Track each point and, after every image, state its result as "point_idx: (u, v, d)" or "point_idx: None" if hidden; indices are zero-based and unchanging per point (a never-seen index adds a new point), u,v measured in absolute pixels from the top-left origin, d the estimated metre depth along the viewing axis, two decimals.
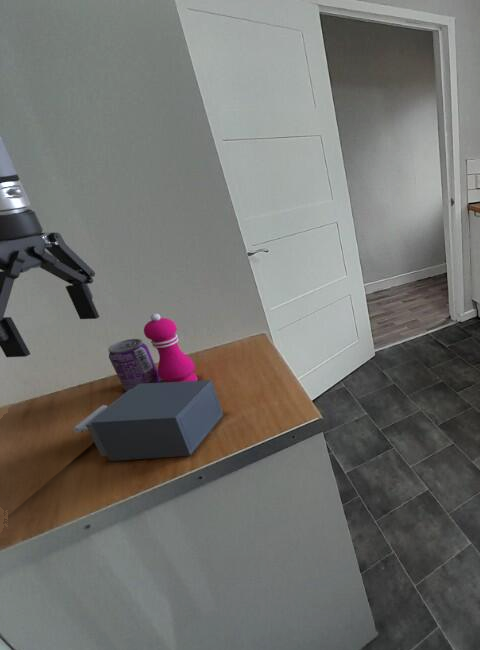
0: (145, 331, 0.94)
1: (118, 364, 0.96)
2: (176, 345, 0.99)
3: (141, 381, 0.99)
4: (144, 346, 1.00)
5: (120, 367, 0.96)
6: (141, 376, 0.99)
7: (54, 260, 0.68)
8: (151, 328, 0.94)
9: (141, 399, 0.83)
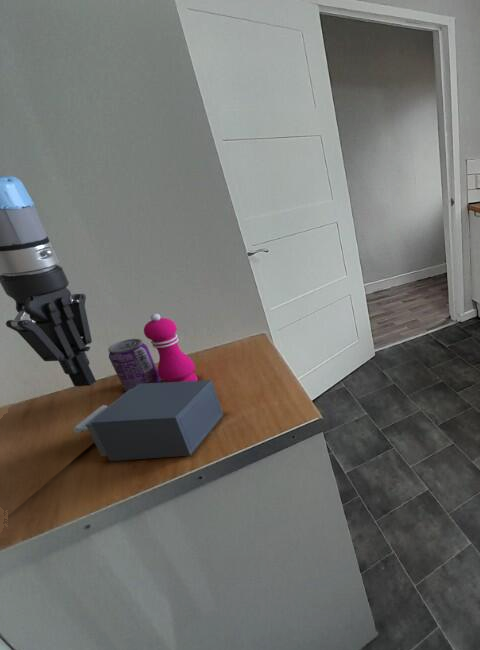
0: (145, 331, 0.94)
1: (118, 364, 0.96)
2: (176, 345, 0.99)
3: (141, 381, 0.99)
4: (144, 346, 1.00)
5: (120, 367, 0.96)
6: (141, 376, 0.99)
7: (70, 316, 0.75)
8: (151, 328, 0.94)
9: (141, 399, 0.83)
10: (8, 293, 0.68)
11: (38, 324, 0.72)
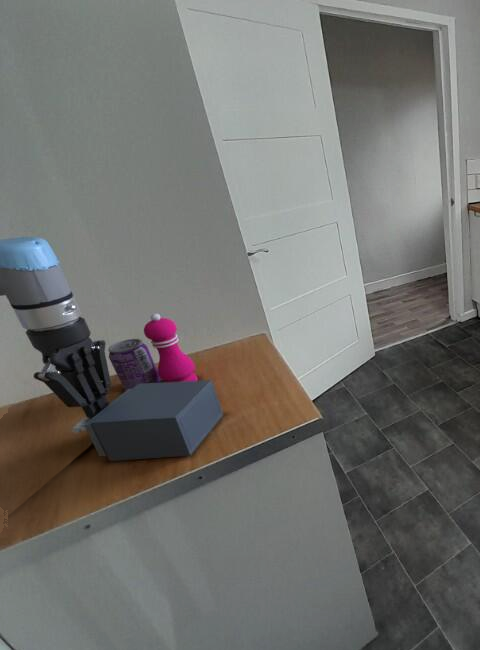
0: (145, 331, 0.94)
1: (118, 364, 0.96)
2: (176, 345, 0.99)
3: (141, 381, 0.99)
4: (144, 346, 1.00)
5: (120, 367, 0.96)
6: (141, 376, 0.99)
7: (92, 363, 0.80)
8: (151, 328, 0.94)
9: (141, 399, 0.83)
10: (35, 346, 0.72)
11: (62, 373, 0.76)
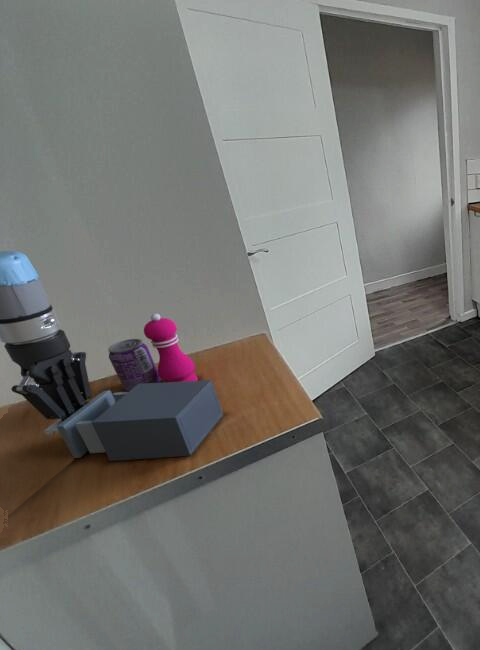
0: (145, 331, 0.94)
1: (118, 364, 0.96)
2: (176, 345, 0.99)
3: (141, 381, 0.99)
4: (144, 346, 1.00)
5: (120, 367, 0.96)
6: (141, 376, 0.99)
7: (71, 375, 0.80)
8: (152, 328, 0.94)
9: (141, 399, 0.83)
10: (14, 360, 0.73)
11: (41, 385, 0.77)
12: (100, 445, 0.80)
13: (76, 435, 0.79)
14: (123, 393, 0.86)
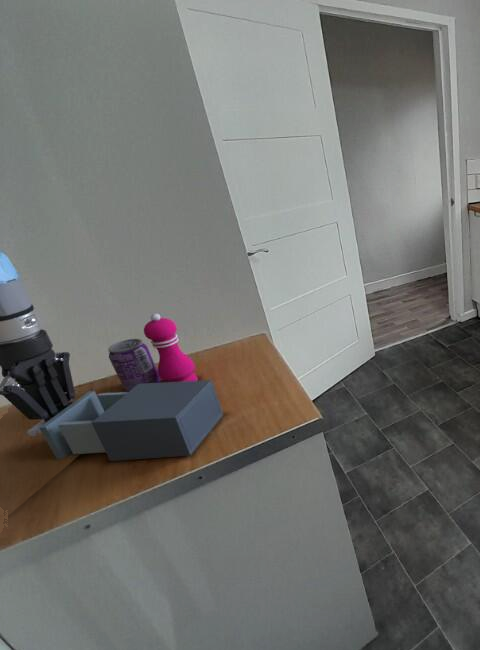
0: (145, 331, 0.94)
1: (118, 364, 0.96)
2: (176, 345, 0.99)
3: (141, 381, 0.99)
4: (144, 346, 1.00)
5: (120, 367, 0.96)
6: (141, 376, 0.99)
7: (54, 375, 0.80)
8: (151, 328, 0.94)
9: (141, 399, 0.83)
10: None
11: (23, 385, 0.76)
12: (83, 446, 0.80)
13: (59, 436, 0.79)
14: (108, 394, 0.86)
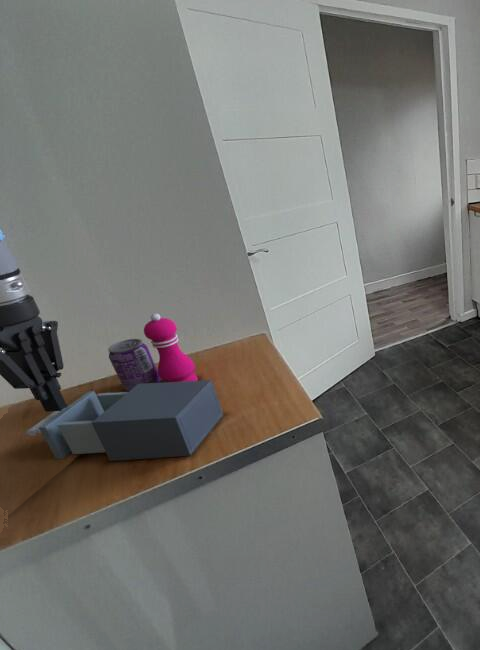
0: (145, 331, 0.94)
1: (118, 364, 0.96)
2: (176, 345, 0.99)
3: (141, 381, 0.99)
4: (144, 346, 1.00)
5: (120, 367, 0.96)
6: (141, 376, 0.99)
7: (41, 344, 0.77)
8: (151, 328, 0.94)
9: (141, 399, 0.83)
10: None
11: (8, 353, 0.74)
12: (83, 446, 0.80)
13: (59, 436, 0.79)
14: (107, 394, 0.86)
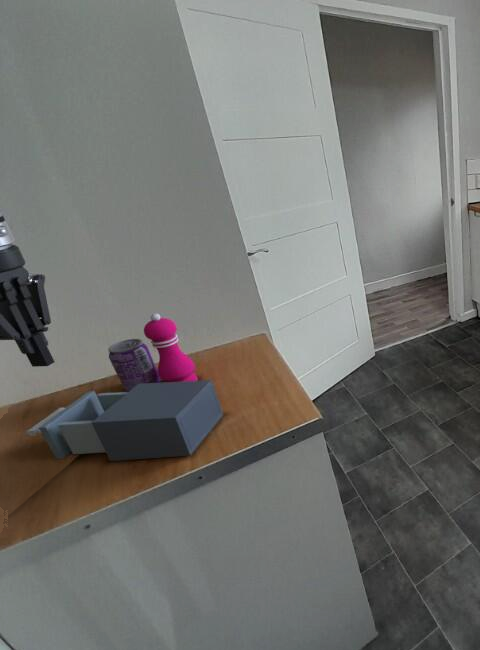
0: (145, 331, 0.94)
1: (118, 364, 0.96)
2: (176, 345, 0.99)
3: (141, 381, 0.99)
4: (144, 346, 1.00)
5: (120, 367, 0.96)
6: (141, 376, 0.99)
7: (27, 296, 0.76)
8: (151, 328, 0.94)
9: (141, 399, 0.83)
10: None
11: None
12: (83, 446, 0.80)
13: (59, 436, 0.79)
14: (107, 394, 0.86)
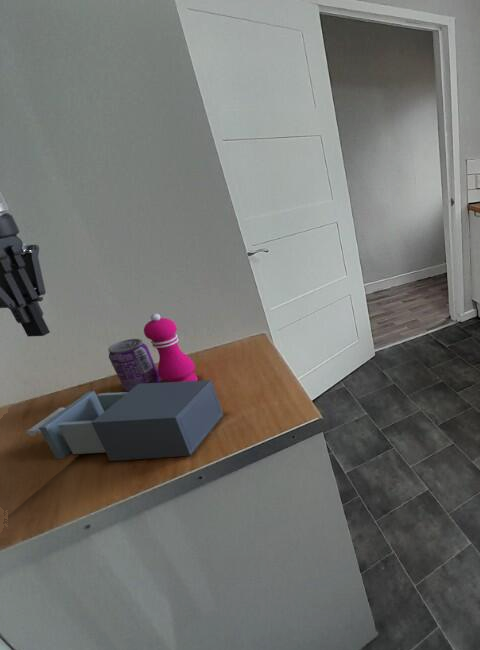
0: (145, 331, 0.94)
1: (118, 364, 0.96)
2: (176, 345, 0.99)
3: (141, 381, 0.99)
4: (144, 346, 1.00)
5: (120, 367, 0.96)
6: (141, 376, 0.99)
7: (21, 265, 0.76)
8: (151, 328, 0.94)
9: (141, 399, 0.83)
10: None
11: None
12: (83, 446, 0.80)
13: (59, 436, 0.79)
14: (107, 394, 0.86)
